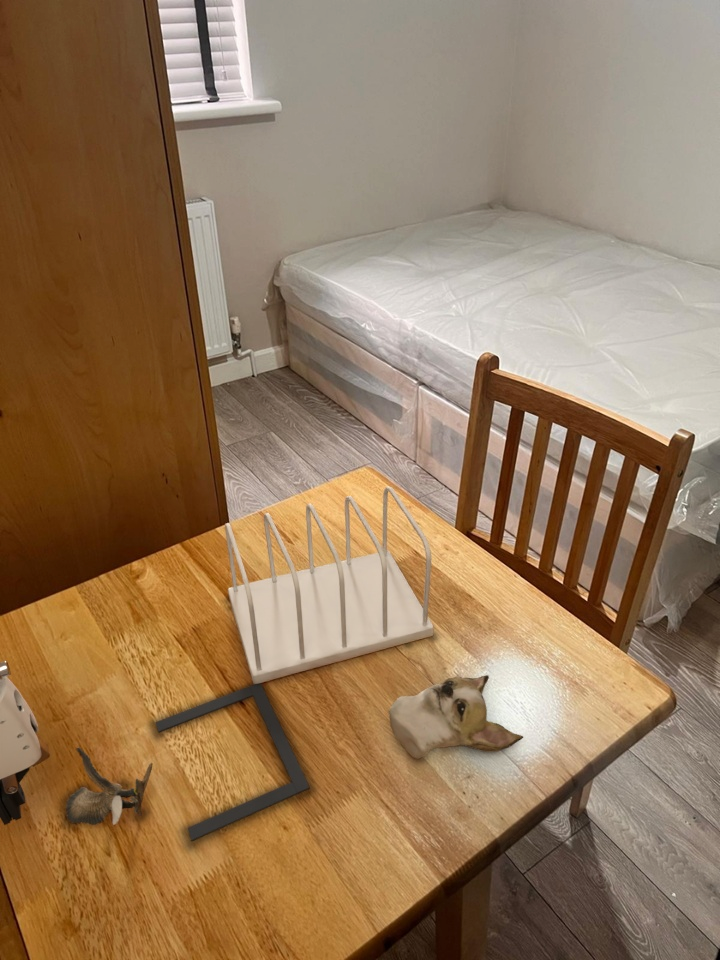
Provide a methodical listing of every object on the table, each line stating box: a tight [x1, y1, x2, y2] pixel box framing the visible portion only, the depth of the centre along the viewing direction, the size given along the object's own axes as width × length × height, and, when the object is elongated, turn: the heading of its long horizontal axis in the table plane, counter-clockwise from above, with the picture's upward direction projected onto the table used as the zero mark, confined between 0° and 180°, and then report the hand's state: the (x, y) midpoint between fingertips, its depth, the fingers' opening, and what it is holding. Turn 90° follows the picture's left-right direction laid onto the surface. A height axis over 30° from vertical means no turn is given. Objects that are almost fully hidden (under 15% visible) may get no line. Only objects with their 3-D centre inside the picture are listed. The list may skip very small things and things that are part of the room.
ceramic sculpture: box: [388, 674, 524, 760], centre depth 85 cm, size 11×9×15 cm
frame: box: [155, 683, 310, 842], centre depth 85 cm, size 14×16×1 cm
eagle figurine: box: [65, 747, 153, 826], centre depth 79 cm, size 8×7×9 cm
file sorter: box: [224, 486, 434, 685], centre depth 99 cm, size 25×17×16 cm
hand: (12, 809), depth 74 cm, fingers closed
